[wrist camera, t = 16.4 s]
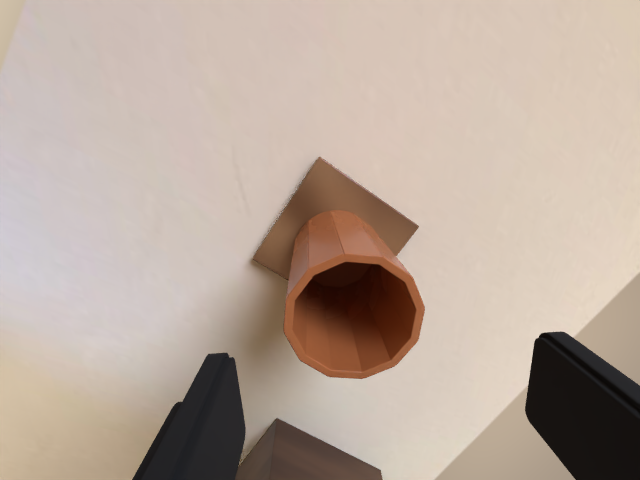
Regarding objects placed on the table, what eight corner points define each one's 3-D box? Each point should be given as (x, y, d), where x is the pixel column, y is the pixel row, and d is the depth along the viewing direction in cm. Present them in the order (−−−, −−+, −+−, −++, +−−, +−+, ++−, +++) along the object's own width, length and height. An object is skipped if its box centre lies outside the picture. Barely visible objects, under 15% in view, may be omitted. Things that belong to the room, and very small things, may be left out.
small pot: (382, 213, 23) (435, 260, 13) (370, 291, 25) (410, 382, 15) (297, 206, 23) (289, 248, 13) (291, 285, 24) (280, 374, 15)
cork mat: (319, 156, 22) (319, 156, 22) (416, 224, 24) (419, 226, 23) (253, 255, 24) (252, 259, 24) (348, 312, 26) (349, 317, 25)
